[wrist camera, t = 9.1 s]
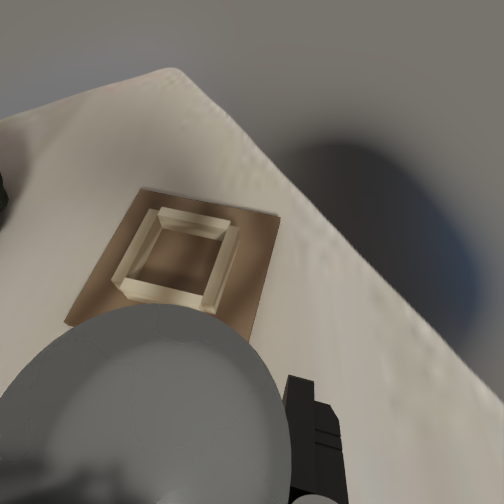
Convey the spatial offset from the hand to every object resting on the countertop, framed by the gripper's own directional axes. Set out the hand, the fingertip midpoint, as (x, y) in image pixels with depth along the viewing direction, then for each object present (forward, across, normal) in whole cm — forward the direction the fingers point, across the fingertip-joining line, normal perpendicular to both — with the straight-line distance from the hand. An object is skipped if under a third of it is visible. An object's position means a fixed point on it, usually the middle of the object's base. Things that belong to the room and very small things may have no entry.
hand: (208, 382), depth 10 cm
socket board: (+26, +10, +6) cm, 28 cm away
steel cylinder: (+2, 0, +4) cm, 5 cm away
